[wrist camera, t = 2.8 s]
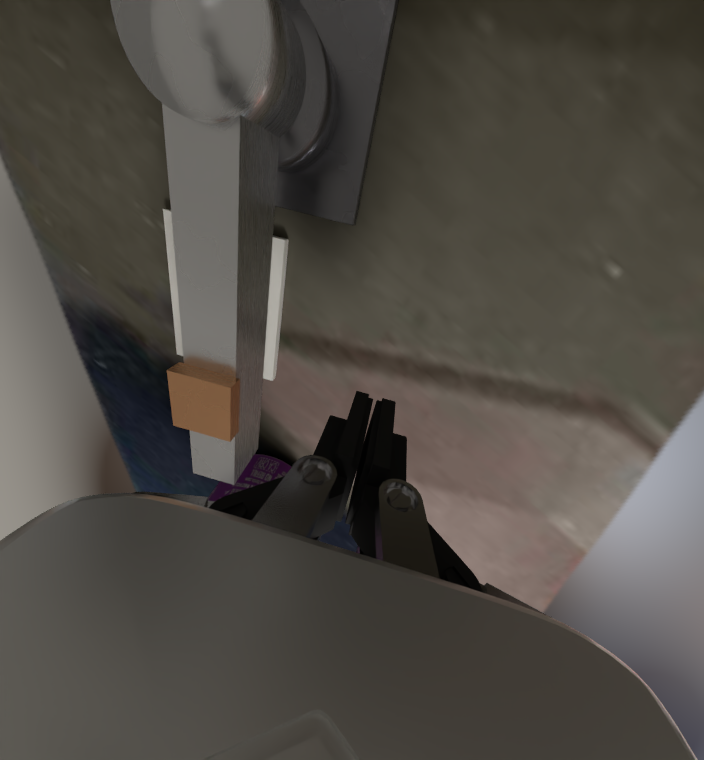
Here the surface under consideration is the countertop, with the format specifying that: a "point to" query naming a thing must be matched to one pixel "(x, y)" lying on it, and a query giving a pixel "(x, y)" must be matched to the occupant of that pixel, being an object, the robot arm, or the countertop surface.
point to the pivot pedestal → (334, 105)
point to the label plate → (273, 302)
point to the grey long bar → (219, 198)
